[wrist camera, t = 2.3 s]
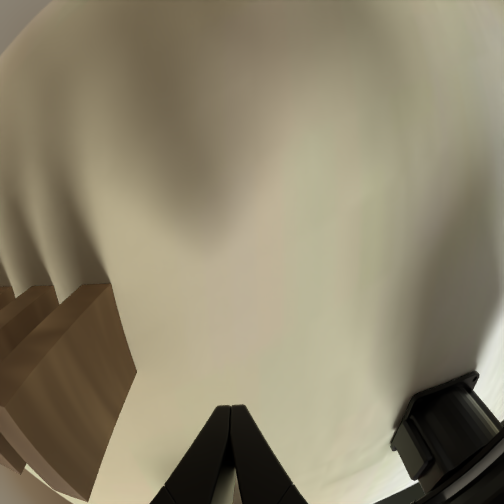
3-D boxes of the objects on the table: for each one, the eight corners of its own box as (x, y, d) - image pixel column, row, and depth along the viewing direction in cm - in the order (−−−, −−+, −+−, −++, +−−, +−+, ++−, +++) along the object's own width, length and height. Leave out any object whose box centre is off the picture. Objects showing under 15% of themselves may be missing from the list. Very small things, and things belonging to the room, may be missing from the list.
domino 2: (110, 283, 12) (4, 407, 4) (137, 371, 13) (88, 502, 5) (82, 284, 12) (-27, 393, 4) (110, 370, 13) (53, 489, 5)
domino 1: (53, 285, 11) (-53, 379, 4) (82, 367, 13) (20, 474, 5) (32, 286, 11) (-68, 370, 4) (62, 364, 13) (-2, 462, 5)
